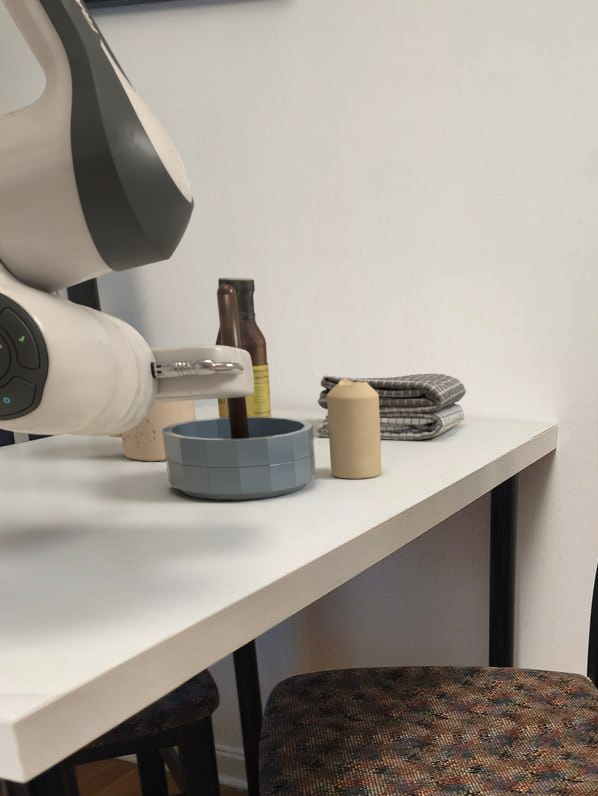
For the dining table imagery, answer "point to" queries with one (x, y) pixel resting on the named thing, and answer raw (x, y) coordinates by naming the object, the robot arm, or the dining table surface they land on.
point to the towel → (409, 404)
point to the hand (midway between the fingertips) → (151, 385)
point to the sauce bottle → (249, 349)
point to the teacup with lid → (155, 430)
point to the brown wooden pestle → (232, 339)
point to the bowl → (239, 458)
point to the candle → (354, 430)
